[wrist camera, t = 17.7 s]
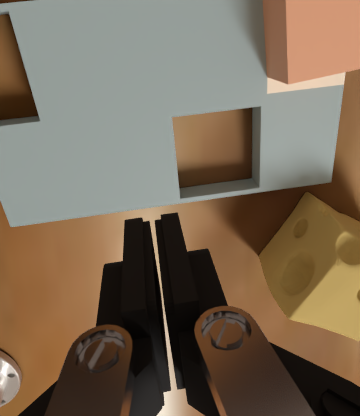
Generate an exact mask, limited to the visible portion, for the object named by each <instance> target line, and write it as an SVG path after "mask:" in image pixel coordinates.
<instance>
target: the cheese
mask: <svg viewBox="0 0 360 416" xmlns="http://www.w3.org/2000/svg"><path fill="white" fill-rule="evenodd" d="M259 259H260V262H261V266H262V269H263V273H264V276H265V279H266V282H267V284H268V287H269V289H270V291H271V293H272V295H273V297H274V299H275V301H276V302H277V304H278V305H279V307H280V308H281V310H282V311H283V312H284V314H285V315H286V316H287V318H288V319H290V320H293V321H298V322H302V323H306V324H311V325H315V326H318V327H321V328H324V329H327V330H330V331H333V332H336V333H339V334H341V335H344V336H347V337H349V338H352V339H354V340H356V341H360V222H359V221H357V220H355V219H353V218H351V217H349V216H347V215H345V214H342V213H338V212H337V211H335V210H334V209H333V208H331V207H330V206H329V205H327V204H326V203H324V202H323V201H321V200H319V199H318V198H316V197H315V196H314V195H312V194H311V193H309V192H306V193H305V194H304V195H303V196H302V198H301V199H300V201H299V202H298V204H297V205H296V207H295V209H294V210H293V212H292V213H291V215H290V216H289V217H288V219H287V220H286V221H285V222H284V224H283V225H282V226H281V228H280V229H279V230H278V232H277V233H276V234H275V236H274V237H273V238H272V239H271V241H270V242H269V243H268V244H267V246H266V247H265V248H264V249H263V251H262V252H261V253H260V255H259Z"/></svg>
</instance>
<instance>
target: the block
mask: <svg viewBox="0 0 360 416" xmlns="http://www.w3.org/2000/svg"><path fill="white" fill-rule="evenodd" d="M263 17H264V34H265V51H266V69H267V77H268V78H271V79H274V80H277V81H279V82H282V83H285V84H288V85H289V84H293V83H298V82H302V81H307V80H311V79H316V78H321V77H325V76H330V75H334V74H339V73H344V72H348V71H353V70H357V69H360V0H263Z"/></svg>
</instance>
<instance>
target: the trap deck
mask: <svg viewBox="0 0 360 416" xmlns="http://www.w3.org/2000/svg"><path fill="white" fill-rule="evenodd" d="M1 14H9V15H10V18H11V22H12V25H13V28H14V32H15V35H16V39H17V42H18V46H19V49H20V53H21V56H22V60H23V63H24V66H25V70H26V73H27V77H28V80H29V84H30V87H31V91H32V94H33V98H34V101H35V104H36V108H37V111H38V115H39V116H33V117H24V118H16V119H8V120H0V201H1V203H2V206H3V208H4V211H5V213H6V216H7V219H8V221H9V224H10V226H11V227H16V226H23V225H30V224H37V223H44V222H51V221H59V220H66V219H73V218H80V217H87V216H94V215H101V214H109V213H116V212H123V211H130V210H137V209H144V208H151V207H159V206H166V205H173V204H180V203H187V202H194V201H201V200H209V199H216V198H223V197H230V196H237V195H244V194H251V193H259V192H266V191H273V190H280V189H287V188H294V187H301V186H309V185H316V184H323V183H330V182H331V180H332V172H333V164H334V157H335V149H336V141H337V134H338V126H339V118H340V110H341V103H342V95H343V87H344V80H345V72H344V73H339V74H334V75H330V76H325V77H321V78H316V79H311V80H307V81H302V82H298V83H293V84H289V85H288V84H285V83H282V82H279V81H277V80H274V79H271V78H268V77H267V69H266V51H265V34H264V17H263V0H33V1H22V2H12V3H2V4H0V15H1ZM251 107H252V178H250V179H243V180H235V181H228V182H221V183H213V184H206V185H199V186H192V187H184V188H179V181H178V171H177V162H176V152H175V143H174V133H173V123H172V117H178V116H186V115H194V114H202V113H210V112H218V111H227V110H235V109H243V108H251Z"/></svg>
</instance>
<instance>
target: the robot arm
mask: <svg viewBox="0 0 360 416" xmlns="http://www.w3.org/2000/svg"><path fill="white" fill-rule="evenodd" d="M155 227H156V236H157V245H158V254H159V263H160V272H161V281H162V290H163V298H164V306H165V313H166V320H167V326H168V333H169V339H170V346H171V352H172V358H173V365H174V371H175V378H176V384H177V390H178V389H184V388H186V395H187V401H188V404H189V405H191V406H192V407H193V408H195V409H196V410H198V411H199V412H201V413H202V414H203V416H360V387H359V386H357V385H355V384H354V383H352V382H350V381H348V380H346V379H344V378H342V377H340V376H338V375H336V374H334V373H332V372H330V371H328V370H326V369H324V368H322V367H320V366H317V365H315V364H313V363H311V362H309V361H307V360H305V359H303V358H301V357H299V356H297V355H295V354H293V353H291V352H289V351H287V350H285V349H283V348H281V347H279V346H276V345H274V344H272V343H270V342H269V341H268V340H267V338H266V337H265V335H264V333H263V332H262V330H261V329H260V327H259V326H258V324H257V322H256V321H255V320H254V318H253V317H252V316H251V315H250V314H249V313H247V312H245V311H244V310H242V309H239V308H236V307H233V306H228V305H227V302H226V299H225V296H224V293H223V290H222V287H221V284H220V281H219V278H218V276H217V273H216V270H215V267H214V264H213V261H212V258H211V255H210V252H209V250H208V249H201V250H195V251H188V252H187V249H186V245H185V241H184V237H183V233H182V229H181V225H180V220H179V216H178V213H170V214H163V215H161V219H160V220H155ZM21 380H22V376H21V371H20V369H19V367H18V365H17V364H16V362H15V361H14V360H13V359H12V358H10V357H9V356H8V355H7V354H5V353H3V352H2V351H0V407H1V406H3V405H5V404H7V403H8V402H10V401H11V400H12V399H13V398H14V397H15V395H16V394H17V393H18V390H19V387H20V385H21ZM167 391H171V386H170V376H169V367H168V357H167V348H166V338H165V329H164V319H163V309H162V300H161V291H160V284H159V278H158V272H157V266H156V259H155V253H154V247H153V240H152V234H151V228H150V222H149V221H146V222H143V219H142V218H135V219H128V220H125V226H124V248H123V261H121V262H114V263H108V264H105V265H104V268H103V275H102V283H101V291H100V299H99V307H98V315H97V323H96V327H94V328H92V329H89V330H87V331H86V332H84V333H83V334H81V335H80V336H79V337H78V338H77V339H76V340H75V341H74V342H73V344H72V346H71V347H70V349H69V351H68V354H67V356H66V359H65V362H64V364H63V367H62V370H61V372H60V375H59V378H58V380H57V381H56V382H55V383H54V384H53V385H52V386H51V387H49V388H48V389H47V390H46V391H45V392H44V393H43V394H42V395H41V396H39V397H38V398H37V399H36V400H35V401H34V402H33V403H32V404H30V405H29V406H28V407H27V408H26V409H25V410H24V411H23V412H22V413H20V414H19V415H18V416H156V415H157V414H158V413H159V412H160V410H161V409H162V406H164V394H163V392H167Z"/></svg>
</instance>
